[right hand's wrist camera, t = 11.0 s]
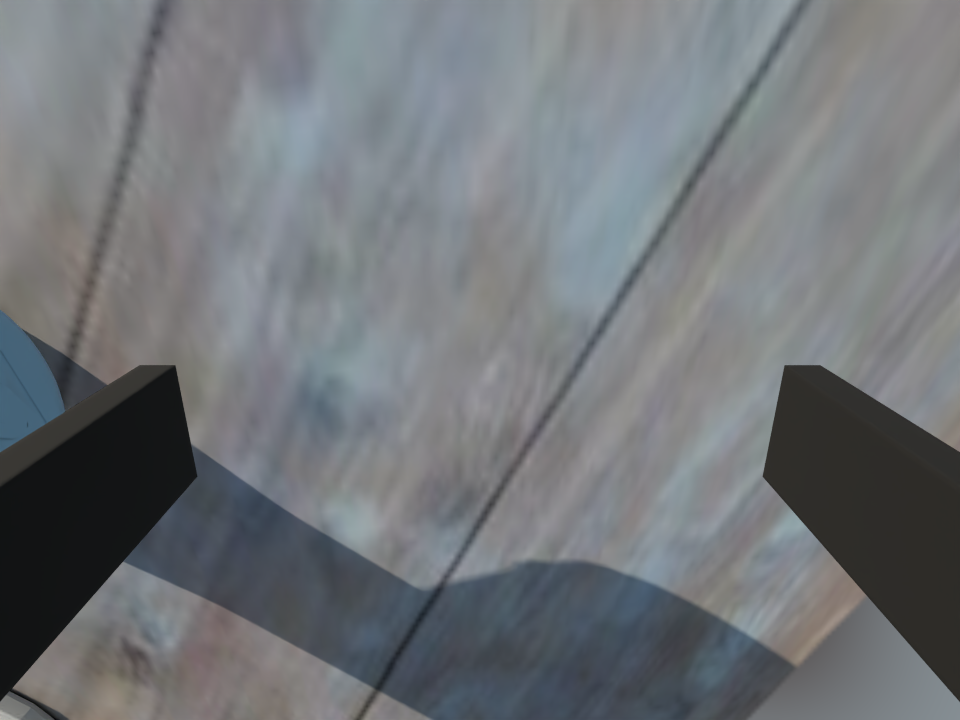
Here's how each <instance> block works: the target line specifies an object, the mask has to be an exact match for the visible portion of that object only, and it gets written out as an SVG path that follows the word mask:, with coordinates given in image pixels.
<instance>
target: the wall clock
mask: <svg viewBox="0 0 960 720" xmlns="http://www.w3.org/2000/svg"><path fill="white" fill-rule="evenodd" d="M0 720H54V719H53V718H52V717H50V716H49V715H48V714H47V713H45V712H44V711H43V710H41V709H40V708H39V707H37V706H36V705H35V704H33V703H31V702H29V701H27V700H25V699H24V698H22V697H20V696H18V695H16V694H14V693H12V692H10V691H9V692H8V693H7V695H6V696H5V697H4V698H3V699H2V700H1V701H0Z"/></svg>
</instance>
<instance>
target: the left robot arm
mask: <svg viewBox="0 0 960 720" xmlns="http://www.w3.org/2000/svg"><path fill="white" fill-rule="evenodd" d="M64 412H65V408H64V404H63V401H62V397H61V394H60V391H59V388H58V385H57V382H56V380H55V378H54V376H53V374H52V372H51V370H50V368H49V366H48V364H47V362H46V361H45V359H44V357H43V356H42V354H41V353H40V351H39V350H38V348H37V347H36V346H35V344H34V343H33V342H32V340H31V339H30V338H29V337H28V336H27V335H26V333H25V332H24V331H23V330H22V329H21V328H20V327H19V326H18V325H17V324H16V323H15V322H14V321H13V320H12V319H11V318H10V317H8V316H7V315H6V314H5V313H4V312H2V311H1V310H0V452H1V451H3V450H5V449H6V448H8V447H9V446H11V445H13V444H14V443H16V442H18V441H19V440H21V439H22V438H24V437H26V436H27V435H29V434H30V433H32V432H34V431H35V430H37V429H38V428H40V427H42V426H43V425H45V424H46V423H48V422H50V421H51V420H53V419H54V418H56V417H58V416H59V415H61V414H62V413H64Z"/></svg>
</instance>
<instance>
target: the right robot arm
mask: <svg viewBox="0 0 960 720" xmlns="http://www.w3.org/2000/svg"><path fill="white" fill-rule="evenodd" d="M196 477H197V473H196V468H195V463H194V458H193V452H192V447H191V442H190V437H189V432H188V427H187V422H186V417H185V412H184V407H183V402H182V397H181V392H180V387H179V382H178V376H177V371H176V366H175V365H140V366H138V367H136V368H135V369H133V370H131V371H130V372H128V373H127V374H125V375H123V376H122V377H120V378H119V379H117V380H115V381H114V382H112V383H111V384H109V385H107V386H106V387H104V388H103V389H101V390H99V391H98V392H96V393H95V394H93V395H91V396H90V397H88V398H87V399H85V400H83V401H82V402H80V403H79V404H77V405H75V406H74V407H72V408H70V409H69V410H67V411H66V412H64V413H62V414H61V415H59V416H58V417H56V418H54V419H53V420H51V421H50V422H48V423H46V424H45V425H43V426H42V427H40V428H38V429H37V430H35V431H34V432H32V433H30V434H29V435H27V436H26V437H24V438H22V439H21V440H19V441H18V442H16V443H14V444H13V445H11V446H9V447H8V448H6V449H5V450H3V451H1V452H0V701H1V700H2V699H3V698H4V697H5V696H6V695H7V693H8V692H9V691H10V690H11V689H12V688H13V687H14V685H15V684H16V683H17V682H18V681H19V680H20V679H21V677H22V676H23V675H24V674H25V673H26V672H27V671H28V669H29V668H30V667H31V666H32V665H33V664H34V663H35V661H36V660H37V659H38V658H39V657H40V656H41V655H42V653H43V652H44V651H45V650H46V649H47V648H48V647H49V645H50V644H51V643H52V642H53V641H54V640H55V639H56V637H57V636H58V635H59V634H60V633H61V632H62V631H63V629H64V628H65V627H66V626H67V625H68V624H69V623H70V621H71V620H72V619H73V618H74V617H75V616H76V615H77V613H78V612H79V611H80V610H81V609H82V608H83V607H84V605H85V604H86V603H87V602H88V601H89V600H90V599H91V597H92V596H93V595H94V594H95V593H96V592H97V591H98V589H99V588H100V587H101V586H102V585H103V584H104V583H105V581H106V580H107V579H108V578H109V577H110V576H111V575H112V573H113V572H114V571H115V570H116V569H117V568H118V567H119V565H120V564H121V563H122V562H123V561H124V560H125V559H126V557H127V556H128V555H129V554H130V553H131V552H132V551H133V549H134V548H135V547H136V546H137V545H138V544H139V543H140V541H141V540H142V539H143V538H144V537H145V536H146V535H147V533H148V532H149V531H150V530H151V529H152V528H153V527H154V525H155V524H156V523H157V522H158V521H159V520H160V519H161V517H162V516H163V515H164V514H165V513H166V512H167V511H168V509H169V508H170V507H171V506H172V505H173V504H174V503H175V501H176V500H177V499H178V498H179V497H180V496H181V495H182V493H183V492H184V491H185V490H186V489H187V488H188V487H189V485H190V484H191V483H192V482H193V481H194V480H195V479H196ZM763 477H764V479H765V480H766V481H767V482H768V483H769V484H770V485H771V487H772V488H773V489H774V490H775V491H776V492H777V493H778V495H779V496H780V497H781V498H782V499H783V500H784V501H785V503H786V504H787V505H788V506H789V507H790V508H791V509H792V511H793V512H794V513H795V514H796V515H797V516H798V517H799V519H800V520H801V521H802V522H803V523H804V524H805V525H806V527H807V528H808V529H809V530H810V531H811V532H812V533H813V535H814V536H815V537H816V538H817V539H818V540H819V541H820V543H821V544H822V545H823V546H824V547H825V548H826V549H827V551H828V552H829V553H830V554H831V555H832V556H833V557H834V559H835V560H836V561H837V562H838V563H839V564H840V565H841V567H842V568H843V569H844V570H845V571H846V572H847V573H848V575H849V576H850V577H851V578H852V579H853V580H854V581H855V583H856V584H857V585H858V586H859V587H860V588H861V589H862V591H863V592H864V593H865V594H866V595H867V596H868V597H869V599H870V600H871V601H872V602H873V603H874V604H875V605H876V607H877V608H878V609H879V610H880V611H881V612H882V613H883V615H884V616H885V617H886V618H887V619H888V620H889V621H890V623H891V624H892V625H893V626H894V627H895V628H896V629H897V631H898V632H899V633H900V634H901V635H902V636H903V637H904V639H905V640H906V641H907V642H908V643H909V644H910V645H911V647H912V648H913V649H914V650H915V651H916V652H917V653H918V655H919V656H920V657H921V658H922V659H923V660H924V661H925V663H926V664H927V665H928V666H929V667H930V668H931V669H932V671H933V672H934V673H935V674H936V675H937V676H938V677H939V679H940V680H941V681H942V682H943V683H944V684H945V685H946V687H947V688H948V689H949V690H950V691H951V692H952V693H953V695H954V696H955V697H956V698H957V699H958V700H959V701H960V452H959V451H957V450H955V449H954V448H952V447H951V446H949V445H947V444H946V443H944V442H942V441H941V440H939V439H938V438H936V437H934V436H933V435H931V434H930V433H928V432H926V431H925V430H923V429H922V428H920V427H918V426H917V425H915V424H914V423H912V422H910V421H909V420H907V419H906V418H904V417H902V416H901V415H899V414H898V413H896V412H894V411H893V410H891V409H890V408H888V407H886V406H885V405H883V404H881V403H880V402H878V401H877V400H875V399H873V398H872V397H870V396H869V395H867V394H865V393H864V392H862V391H861V390H859V389H857V388H856V387H854V386H853V385H851V384H849V383H848V382H846V381H845V380H843V379H841V378H840V377H838V376H837V375H835V374H833V373H832V372H830V371H829V370H827V369H825V368H824V367H822V366H820V365H785V366H784V371H783V376H782V382H781V387H780V392H779V397H778V402H777V407H776V412H775V417H774V422H773V427H772V432H771V437H770V442H769V447H768V452H767V457H766V463H765V468H764V473H763Z"/></svg>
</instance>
